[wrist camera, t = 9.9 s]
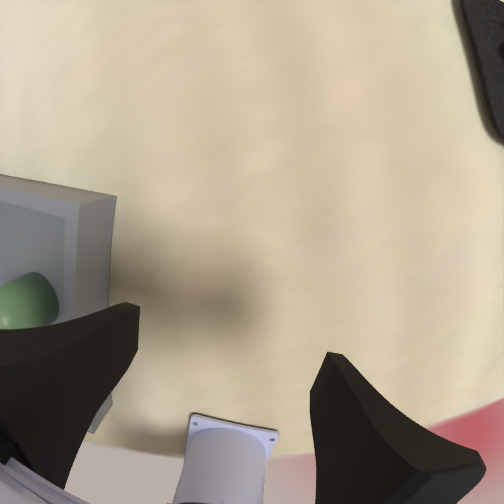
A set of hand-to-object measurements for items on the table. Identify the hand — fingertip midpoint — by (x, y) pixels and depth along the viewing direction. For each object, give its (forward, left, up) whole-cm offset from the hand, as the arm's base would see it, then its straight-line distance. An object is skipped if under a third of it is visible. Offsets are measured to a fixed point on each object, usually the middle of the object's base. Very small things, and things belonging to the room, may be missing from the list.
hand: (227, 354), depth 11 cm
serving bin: (-7, +18, -9) cm, 21 cm away
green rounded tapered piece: (-7, +17, -8) cm, 20 cm away
